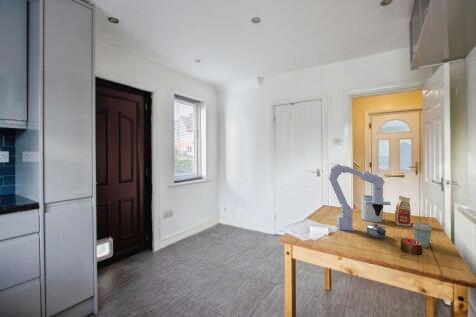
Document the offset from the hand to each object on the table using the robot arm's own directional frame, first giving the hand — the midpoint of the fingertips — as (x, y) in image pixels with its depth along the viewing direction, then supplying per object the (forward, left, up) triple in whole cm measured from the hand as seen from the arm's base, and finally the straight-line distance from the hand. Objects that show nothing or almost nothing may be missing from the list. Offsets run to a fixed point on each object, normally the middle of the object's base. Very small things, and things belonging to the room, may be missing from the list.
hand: (377, 215), depth 150 cm
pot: (-4, -9, -10) cm, 15 cm away
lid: (-4, -11, -5) cm, 13 cm away
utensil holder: (+7, +27, -11) cm, 30 cm away
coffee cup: (+15, -20, -11) cm, 27 cm away
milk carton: (+25, +20, -11) cm, 34 cm away
